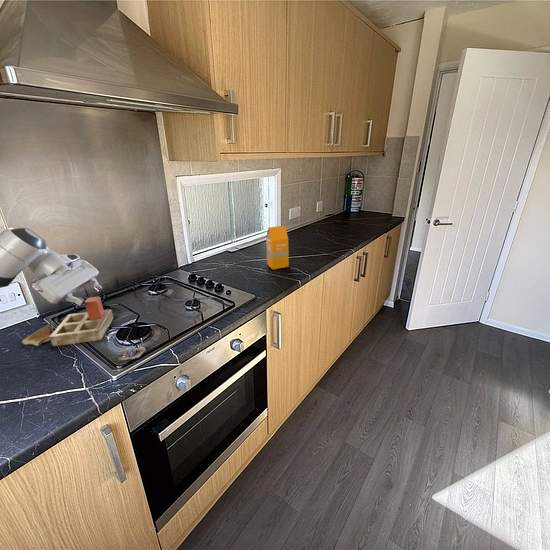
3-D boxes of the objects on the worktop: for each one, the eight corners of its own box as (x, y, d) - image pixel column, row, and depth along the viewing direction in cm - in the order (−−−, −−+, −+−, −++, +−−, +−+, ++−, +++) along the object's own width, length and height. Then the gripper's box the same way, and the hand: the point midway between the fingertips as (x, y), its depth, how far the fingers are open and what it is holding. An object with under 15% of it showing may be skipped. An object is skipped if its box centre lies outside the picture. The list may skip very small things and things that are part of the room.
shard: (52, 325, 101) (50, 321, 101) (71, 327, 100) (69, 322, 99) (22, 344, 92) (20, 339, 91) (42, 346, 90) (40, 341, 89)
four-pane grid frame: (52, 346, 90) (49, 337, 89) (71, 322, 103) (68, 314, 101) (101, 339, 93) (98, 330, 91) (113, 317, 105) (111, 309, 104)
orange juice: (288, 266, 146) (288, 227, 138) (272, 269, 143) (271, 229, 135) (282, 261, 152) (282, 223, 144) (266, 264, 149) (265, 225, 142)
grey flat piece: (113, 354, 86) (112, 349, 85) (142, 343, 90) (140, 338, 90) (119, 366, 81) (118, 360, 80) (149, 353, 86) (147, 348, 85)
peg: (92, 328, 99) (84, 302, 95) (96, 322, 102) (88, 297, 98) (104, 327, 100) (96, 301, 96) (107, 321, 103) (99, 296, 99)
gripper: (31, 275, 83) (74, 306, 86) (79, 252, 102) (113, 277, 105) (22, 289, 85) (64, 318, 88) (71, 264, 104) (104, 288, 107)
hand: (91, 296), depth 97 cm, fingers open, 8 cm apart
